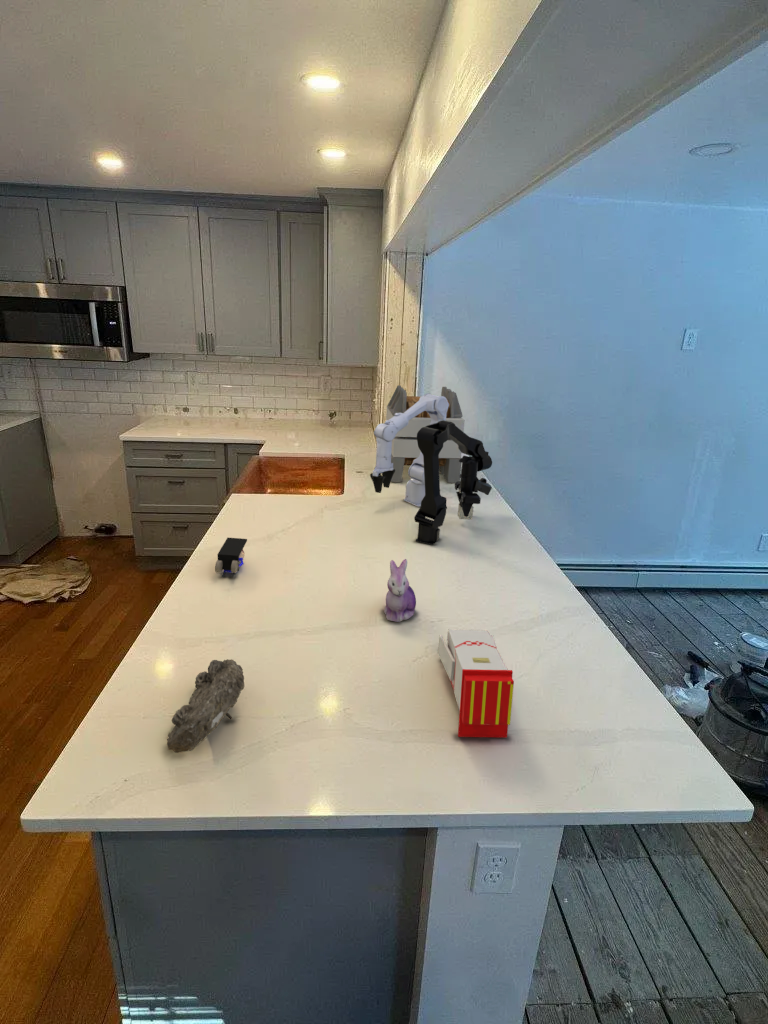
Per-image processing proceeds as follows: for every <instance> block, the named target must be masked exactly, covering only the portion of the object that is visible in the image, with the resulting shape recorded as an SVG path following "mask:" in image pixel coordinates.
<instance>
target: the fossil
mask: <svg viewBox="0 0 768 1024" xmlns="http://www.w3.org/2000/svg"><path fill="white" fill-rule="evenodd" d="M243 670H244V669H243V667H242V665H240V664H237V662H236V661H235V660H234V659H232V658H231V659H227V658H226V659H224V660H223V661H222V660H217V659H212V660H211V661H210V663H209V665H208V666H207V671H201V672H199V673H198V674H197V675H196V676H195V680H194V684H195V685H194V687H195V689H194V690H193V693H192V694H191V697H190V698H189V700H188V704H184V705H182V706H181V707H180V709H177V710H176V711H175V713H174V715H173V716H172V718H171V723H172V724H173V727H172V730H171V731H170V732H168V734H167V738H166V741H167V742H166V745H167V749H168V750H169V751H173V752H174V753H176V754H178V753H182V752H188V751H189V752H192V751H193V750H195V748H196V747H197V746H199V744H200V743H201V742H203V741H204V740H205V739H206V738H207V737H208V736H209V735H210V734H211V733H212V732H214V730H215V729H217V727H218V726H219V724H220V722H221V721H222V720H223V719H224V718H225V716H226V717H227V719H229V720H233V717H232V715H230V714H229V710H230V709H231V708H234V706H235V704H236V703H237V702H238V699H239V697H240V695H241V693H242V691H243V690H245V689H244V688H245V675H244V671H243Z"/></svg>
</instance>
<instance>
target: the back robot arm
mask: <svg viewBox="0 0 768 1024" xmlns="http://www.w3.org/2000/svg"><path fill="white" fill-rule="evenodd" d="M419 397H420V399H419V401H418V402H416V403H415V404H414V405H413V406H412V407H410V408H409V409H408V410H407V411H405V412H404V413H396V414H394V415H395V416H394V417H392V418H391V419H389V420H387V421H386V420H385V421H384V422H383V423H382V422H381V423H379V424H377V425H376V426H375V428H374V430H373V435H374V437H375V441H376V449H375V453H376V454H375V467H374V469H373V470H372V473H370V475H369V477H370V479H371V481H372V483H373V487H374V492H375V493H377V494H381V493H382V491H383V488H387V489H389V488H390V487H391V483H392V482H391V479H392V476H393V474H394V473H395V469H393V463H391V451H392V440H393V439H394V438H395V435H396V434H397V432H399V431H400V430H401V429H403V428H404V427H406V426H407V425H408V421H409V420H410V419H412V418H414V417H415V416H417V415H418V414H420V413H422V412H423V411H426V412H427V413H428V414H429V415H430V417H431V422H430V425H431V424H435V423H437V422H439V421H442V420H445V421H446V413H447V410H448V407H449V403H448V401H447V399H446V398H445V397H444V396H441V395H436V394H432V393H430V392H426V393H424V394H423V395H421V396H419ZM422 465H424V459H423V454H422V452H420V455H419V457H418V458H416V459H415V460H414V461H413V463H412V465H411V466H409V467H408V472H407V473H408V477H409V478H410V479H408V481H407V482H406V484H405V495H404V498H403V501H404V502H406V503H409V504H410V505H413V506H416V507H419V508H420V507H421V501H422V499H423V498H424V496H425V479H424V466H422Z"/></svg>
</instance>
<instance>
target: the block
mask: <svg viewBox="0 0 768 1024" xmlns="http://www.w3.org/2000/svg"><path fill="white" fill-rule="evenodd" d="M473 515H474V506H473V505H472V507H471V509H470V512H469V514H468V516H467V517H465V516H464V513H463V509H462V505H461V503H458V508H457V517H458V519H459V520H473Z"/></svg>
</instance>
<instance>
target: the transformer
mask: <svg viewBox="0 0 768 1024" xmlns="http://www.w3.org/2000/svg"><path fill="white" fill-rule="evenodd" d="M440 393H441V394H440V396H444V397H445V398H446V399H447V401H448V403H449V407H448V410H447V413H446V421H450V422H453V423H454V424H455V426H457V427H458V428H459V429H460V430H462V431H463V432H464V433H465V430H464V429H465V419H464V418H463V411H462V408H461V405H460V402H459V398H458V395H457V392H455V391H453V390H452V389H451V388H447V386H442V387H441V392H440ZM407 394H408V393H407V390H406V389H404V388H403V387H402V385H399V384H398V385H397V386H396V388H395V390H394V392H393V394H392V395H391V398H390V400H389V402H388V404H387V405H386V413H385V414H386V415H385V421H387V420H389V419H391V418H392V417H394V416H395V415H394V414H396V413H404V412H405V411H407V410H408V409H409V408H410V407H412V406H413V405H414V404H415V403H416V402H418V401H419V399H420V397H421V396H415V395H414V396H413V395H412V396H411V395H407ZM430 422H431V417H430V415H429V414H428V413H427V412H426V411H423V412H422V413H420V414H418V415H417V416H415V417H414V418H412V419H410V420H409V421H408V425H407V426H406V427H404V428H403V429H401V430H400V431H399V432H397V434H396V435H395V438H394V439H393V440H392V451H391V463H393V469H395V473H394V474H393V476H392V479H391V482H390V483H402V482H403V475H404V469H405V466H406V467H407V466H409V467H410V466H411V465H412V463H413V461H414V460H415V459H416V458H418V457H419V455H420V452H421V451H420V449H419V447H418V443H417V433H418V431H419V430H420V429H421V428H422V427H425V426H427V425H430ZM462 454H463V453H462V452H461V451H460V450H459V448H458V444H456V443H455V442H454V441H452V440H451V439H450V438H449V439H448V440H447V441H446V442H444V443H443V448H442V450H441V451H440V453H439V473H440V474H441V475H443V478H444V479H445V481H446V482H447V483H449V484H455V483H456V482H457V481H460V479H461V478H460V474H461V469H462V463H461V462H459V460H460V459H461V458H462ZM422 466H423V467H424V465H422Z"/></svg>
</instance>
